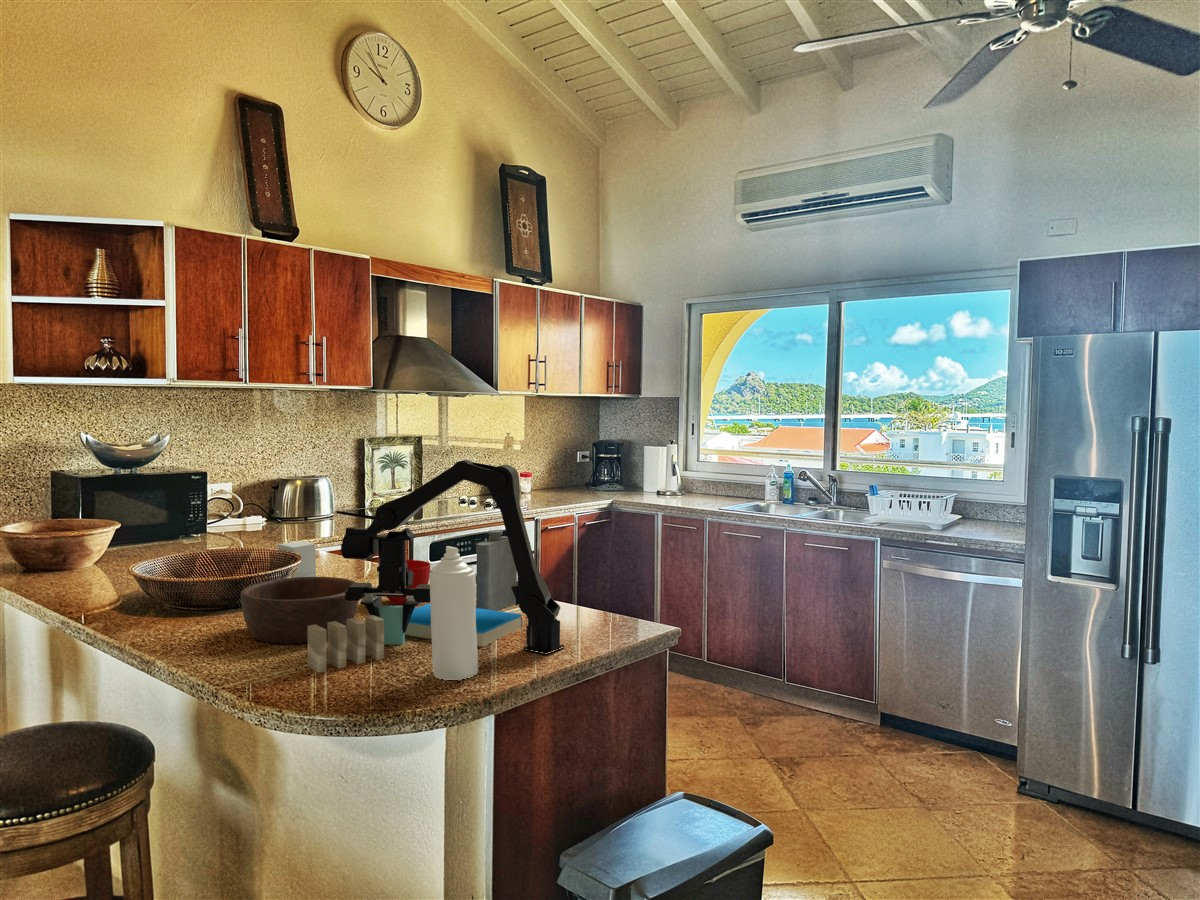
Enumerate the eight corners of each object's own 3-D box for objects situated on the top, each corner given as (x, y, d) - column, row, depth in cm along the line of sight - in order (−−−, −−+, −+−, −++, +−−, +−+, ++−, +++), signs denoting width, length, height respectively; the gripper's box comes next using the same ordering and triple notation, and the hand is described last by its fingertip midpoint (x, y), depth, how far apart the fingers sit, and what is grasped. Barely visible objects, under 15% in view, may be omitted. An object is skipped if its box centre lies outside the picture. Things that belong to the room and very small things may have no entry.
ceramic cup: (443, 595, 220) (443, 558, 220) (418, 609, 203) (418, 570, 203) (398, 592, 222) (398, 556, 222) (370, 607, 206) (370, 568, 205)
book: (483, 631, 172) (388, 616, 182) (483, 651, 172) (388, 635, 182) (523, 613, 188) (433, 600, 198) (522, 631, 188) (433, 617, 198)
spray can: (493, 679, 152) (494, 547, 151) (441, 690, 146) (441, 552, 145) (466, 663, 161) (467, 538, 160) (415, 672, 155) (416, 543, 154)
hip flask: (484, 616, 198) (485, 535, 197) (470, 614, 199) (471, 534, 198) (518, 603, 212) (519, 527, 211) (505, 601, 214) (506, 526, 213)
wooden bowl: (226, 651, 168) (225, 601, 167) (257, 619, 192) (257, 577, 192) (351, 647, 171) (351, 599, 171) (366, 617, 196) (366, 575, 196)
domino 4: (372, 653, 167) (372, 614, 167) (384, 658, 164) (384, 619, 163) (365, 654, 166) (365, 615, 166) (376, 660, 162) (376, 620, 162)
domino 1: (315, 664, 159) (315, 624, 159) (326, 670, 155) (326, 629, 155) (307, 666, 158) (307, 625, 158) (318, 672, 154) (318, 631, 154)
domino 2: (335, 660, 162) (335, 621, 161) (346, 666, 158) (346, 626, 158) (327, 662, 161) (327, 622, 160) (338, 668, 157) (338, 627, 157)
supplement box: (300, 584, 230) (300, 540, 230) (316, 588, 226) (316, 543, 225) (277, 589, 224) (276, 543, 224) (292, 593, 220) (292, 546, 219)
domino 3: (354, 656, 165) (354, 617, 164) (365, 662, 161) (365, 622, 160) (346, 658, 163) (346, 619, 163) (357, 664, 160) (357, 624, 159)
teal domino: (402, 644, 173) (402, 607, 173) (379, 644, 174) (379, 607, 173) (404, 642, 175) (404, 605, 175) (381, 641, 175) (381, 605, 175)
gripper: (444, 554, 181) (444, 623, 182) (362, 552, 182) (362, 621, 183) (431, 563, 170) (431, 637, 171) (344, 561, 171) (344, 634, 172)
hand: (392, 632), depth 174 cm, fingers closed on teal domino, 5 cm apart
